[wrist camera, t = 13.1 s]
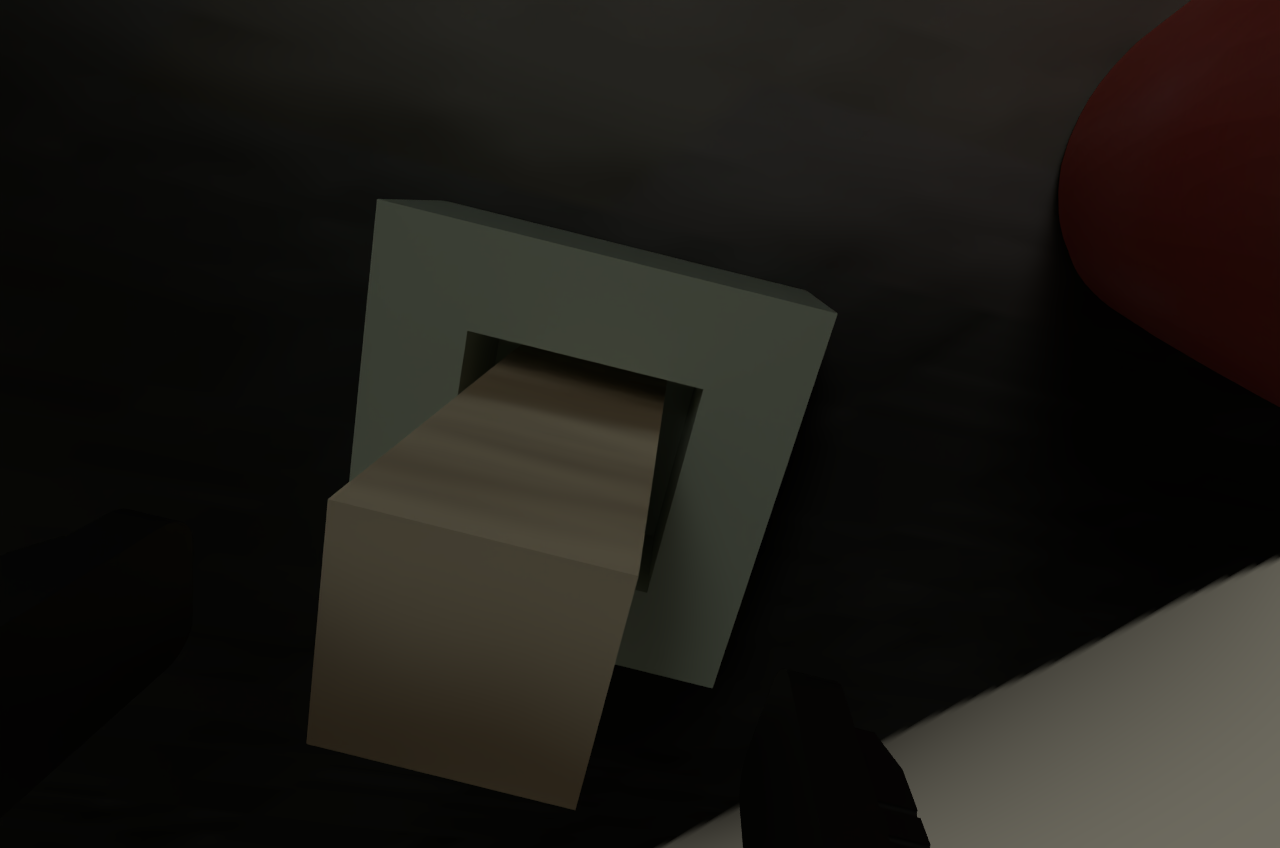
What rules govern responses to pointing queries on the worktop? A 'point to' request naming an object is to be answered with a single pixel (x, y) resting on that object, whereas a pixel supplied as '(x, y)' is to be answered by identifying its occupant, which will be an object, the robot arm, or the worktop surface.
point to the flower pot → (1187, 188)
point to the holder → (619, 337)
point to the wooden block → (489, 578)
